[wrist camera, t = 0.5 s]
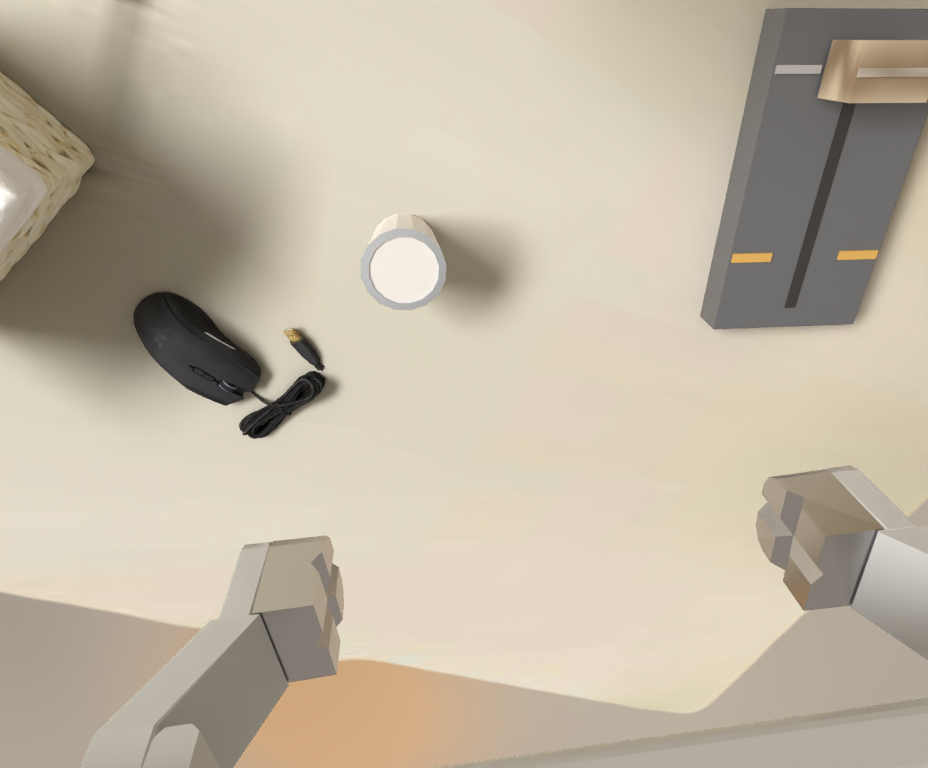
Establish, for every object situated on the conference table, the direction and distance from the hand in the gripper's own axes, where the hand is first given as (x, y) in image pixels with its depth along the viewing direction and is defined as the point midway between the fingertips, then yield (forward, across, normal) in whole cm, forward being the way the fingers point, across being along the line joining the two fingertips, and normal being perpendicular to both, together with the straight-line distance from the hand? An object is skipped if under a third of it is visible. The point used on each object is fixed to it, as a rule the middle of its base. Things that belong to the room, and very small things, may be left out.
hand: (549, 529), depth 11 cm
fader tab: (+42, -33, -2) cm, 53 cm away
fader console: (+45, -32, +7) cm, 56 cm away
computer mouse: (+46, +21, +17) cm, 53 cm away
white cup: (+45, +4, +8) cm, 46 cm away
